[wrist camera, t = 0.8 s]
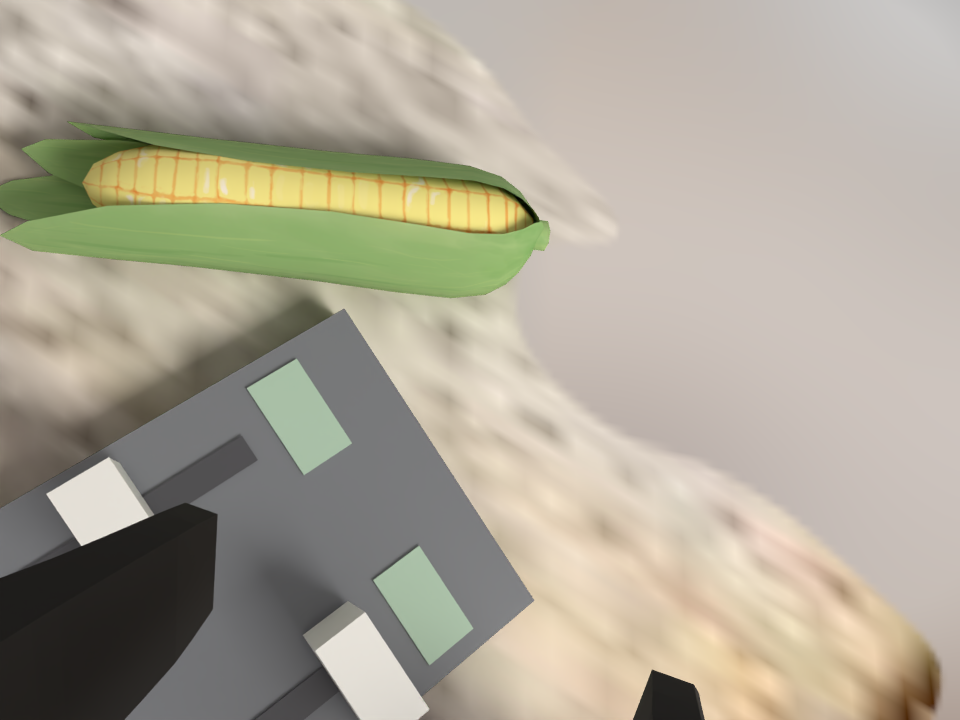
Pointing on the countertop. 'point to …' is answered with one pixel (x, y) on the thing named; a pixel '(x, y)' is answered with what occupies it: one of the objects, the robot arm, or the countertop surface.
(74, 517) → the block
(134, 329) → the countertop surface
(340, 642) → the block
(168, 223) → the edible corn
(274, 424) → the breaker panel
